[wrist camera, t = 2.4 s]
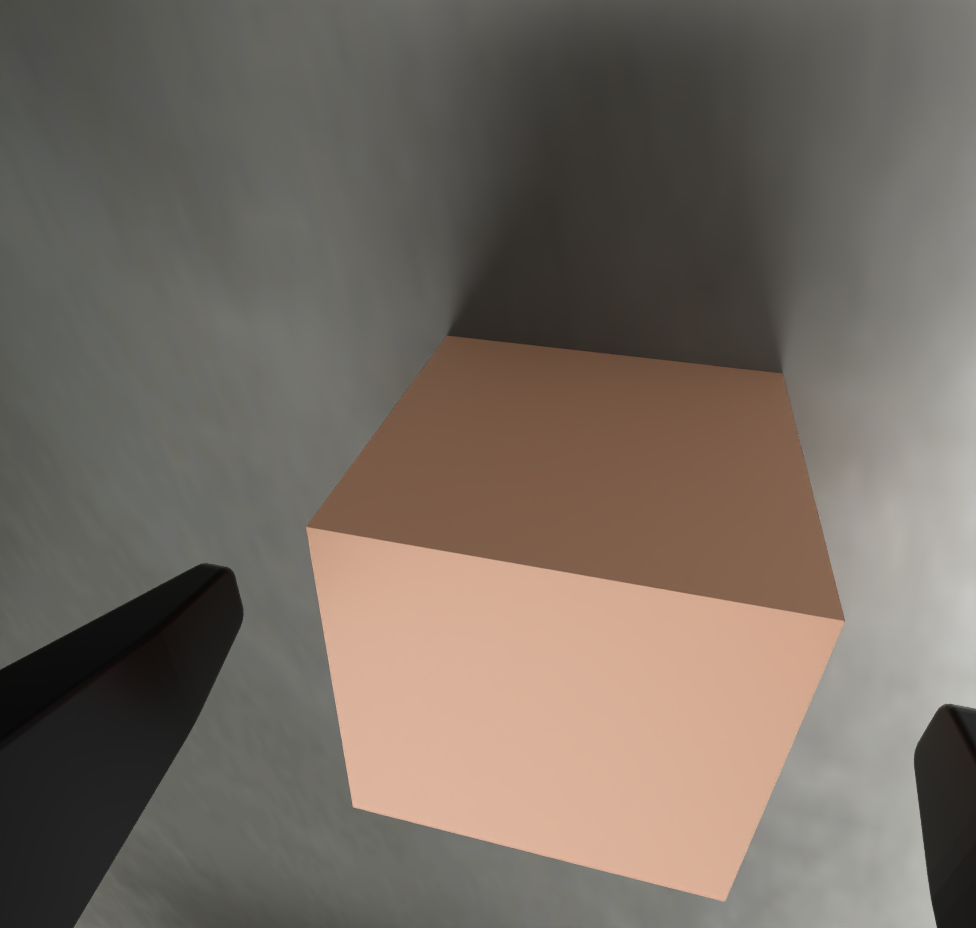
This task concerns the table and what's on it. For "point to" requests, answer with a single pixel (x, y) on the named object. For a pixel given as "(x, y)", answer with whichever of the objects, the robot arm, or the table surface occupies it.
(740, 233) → the table surface
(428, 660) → the terracotta block
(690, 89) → the table surface
